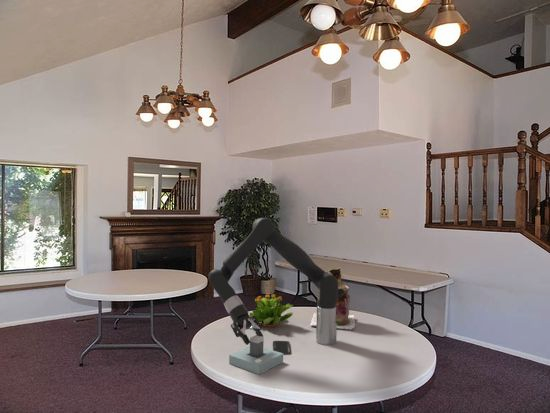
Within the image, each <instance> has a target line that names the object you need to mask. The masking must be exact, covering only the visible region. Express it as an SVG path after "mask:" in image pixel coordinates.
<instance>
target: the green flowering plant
mask: <svg viewBox="0 0 550 413" xmlns="http://www.w3.org/2000/svg"><path fill="white" fill-rule="evenodd" d="M276 296H277V295H276V294H273V293H272V294H271V296H270V294H269V293H268V294H266V295H265V297H264V296H263V297H262V295H259V296H257V297H256V298H255V300H254V302H255V303H256V305H257V306H255V307H256V308H255V309H253V310H252V312H249V314H248V316H249V317H250V318H251V317H252V316H255V317H256V318H257V320H258V321H259V323H260V324H261V326H262V327H266V328H267V327H268V328H275V327H278V326H279V324H280V323H283V322H286V320H288V319H290V318H291V317H292V316H293V314H294V312H288V313H286V314H283V313H284V312H285V311H287V310H289V309H291V308H293V306H294V304H290V303H286V304H285V305H282V304H281V303H280V301H283V299H282V296H278V297H276ZM270 297H271V298H270ZM282 314H283V315H282Z"/></svg>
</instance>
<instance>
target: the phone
mask: <svg viewBox="0 0 550 413" xmlns="http://www.w3.org/2000/svg"><path fill="white" fill-rule="evenodd" d="M272 350H273V351H277V352H280V353H283V355H291V345H290V341H289V340H288V341H287V340H273V341H272Z"/></svg>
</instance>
